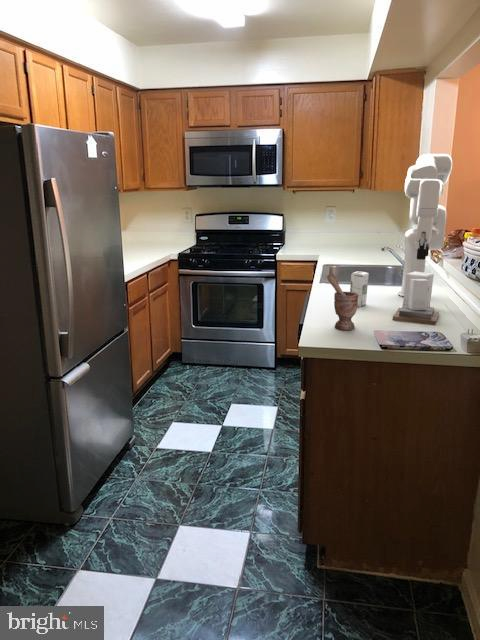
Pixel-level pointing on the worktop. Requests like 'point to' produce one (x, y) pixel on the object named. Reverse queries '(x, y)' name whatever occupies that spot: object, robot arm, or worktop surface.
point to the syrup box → (359, 286)
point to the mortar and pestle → (343, 305)
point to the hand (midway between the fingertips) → (422, 257)
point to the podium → (416, 315)
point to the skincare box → (418, 294)
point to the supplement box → (417, 276)
